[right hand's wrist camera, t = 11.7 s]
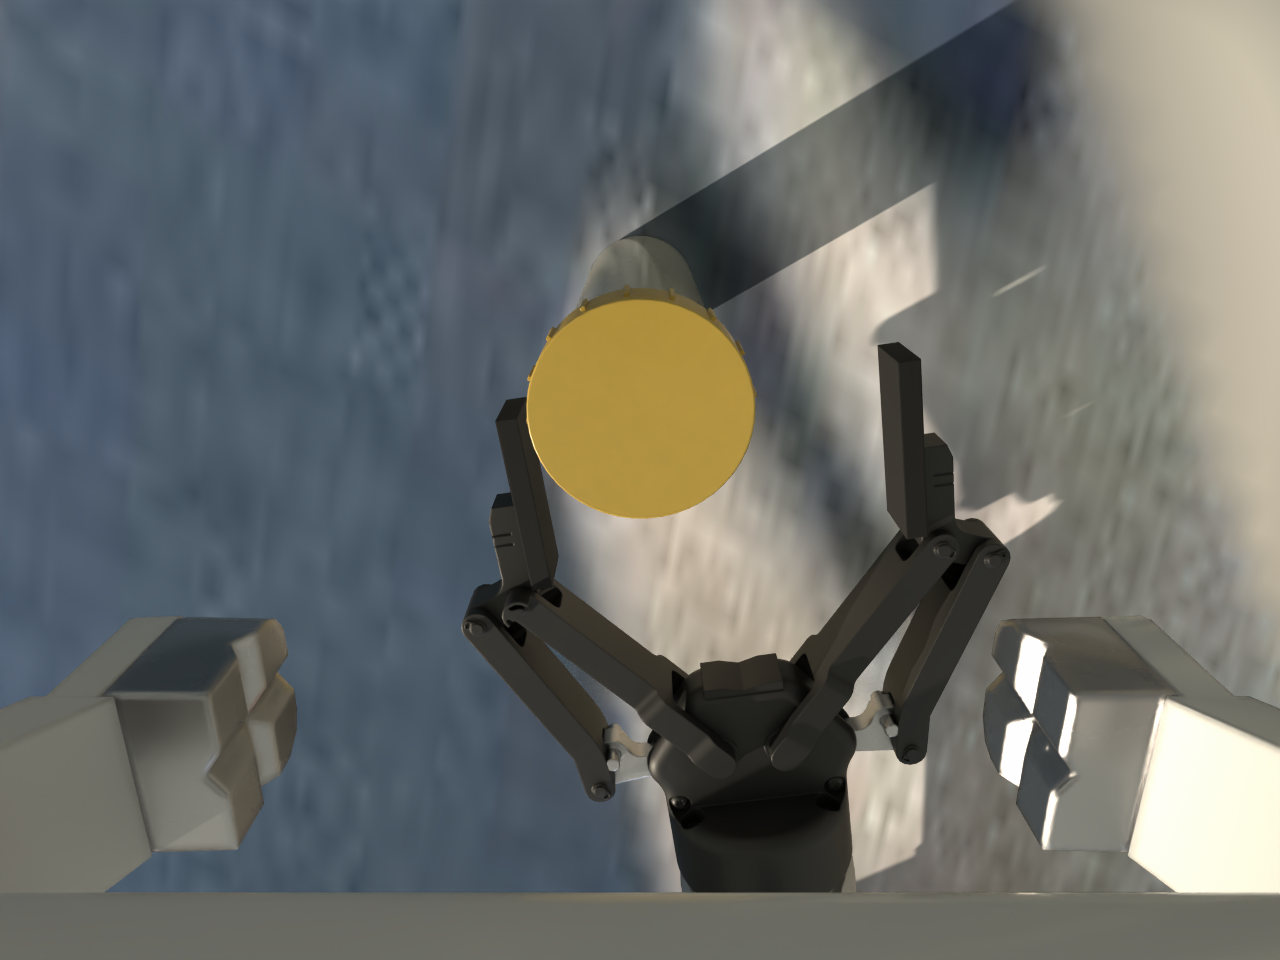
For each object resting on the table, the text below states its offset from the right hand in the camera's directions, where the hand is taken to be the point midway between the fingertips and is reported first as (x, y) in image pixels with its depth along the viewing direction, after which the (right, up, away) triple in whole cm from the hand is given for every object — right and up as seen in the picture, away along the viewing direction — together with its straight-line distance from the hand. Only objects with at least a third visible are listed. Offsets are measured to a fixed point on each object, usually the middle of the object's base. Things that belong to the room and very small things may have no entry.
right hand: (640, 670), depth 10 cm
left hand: (+2, +6, +21) cm, 22 cm away
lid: (0, +4, +10) cm, 11 cm away
